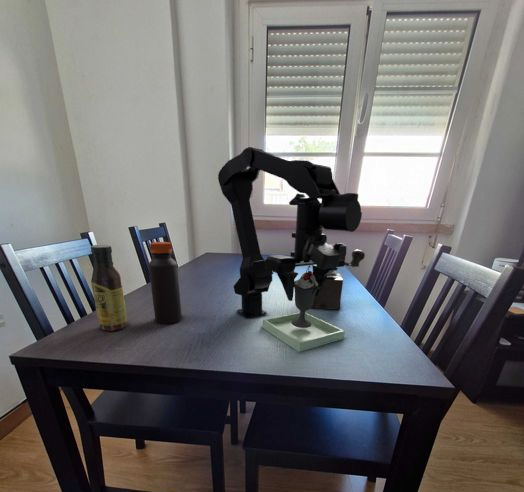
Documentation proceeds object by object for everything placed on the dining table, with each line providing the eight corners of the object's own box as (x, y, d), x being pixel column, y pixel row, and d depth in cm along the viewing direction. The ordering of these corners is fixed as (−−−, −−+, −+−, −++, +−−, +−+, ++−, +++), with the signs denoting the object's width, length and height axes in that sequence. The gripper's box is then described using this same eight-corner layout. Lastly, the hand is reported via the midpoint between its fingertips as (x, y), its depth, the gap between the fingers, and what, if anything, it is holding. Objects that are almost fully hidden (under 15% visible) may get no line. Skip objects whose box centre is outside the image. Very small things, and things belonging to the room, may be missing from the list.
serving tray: (262, 327, 72) (262, 319, 71) (302, 318, 78) (303, 311, 77) (299, 351, 60) (299, 342, 59) (343, 339, 66) (344, 330, 65)
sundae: (298, 331, 65) (305, 268, 59) (282, 320, 70) (288, 261, 64) (320, 327, 68) (329, 266, 62) (304, 316, 73) (311, 259, 67)
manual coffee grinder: (305, 308, 86) (310, 248, 79) (305, 298, 96) (309, 244, 90) (358, 312, 84) (367, 250, 78) (352, 301, 94) (360, 246, 88)
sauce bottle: (96, 327, 70) (79, 245, 63) (121, 320, 74) (108, 243, 67) (106, 335, 66) (89, 248, 58) (132, 327, 70) (120, 245, 63)
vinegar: (175, 325, 72) (167, 245, 65) (150, 323, 73) (139, 243, 66) (186, 316, 78) (179, 242, 71) (163, 314, 79) (154, 241, 72)
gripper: (297, 232, 49) (292, 315, 55) (369, 230, 58) (357, 302, 64) (264, 228, 58) (262, 300, 64) (330, 227, 67) (324, 290, 73)
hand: (303, 298), depth 66 cm, fingers closed on sundae, 7 cm apart
